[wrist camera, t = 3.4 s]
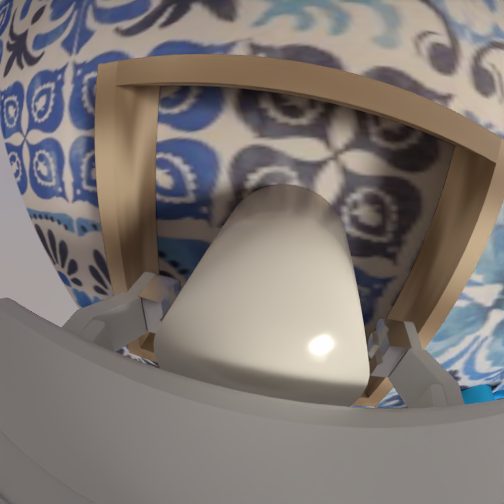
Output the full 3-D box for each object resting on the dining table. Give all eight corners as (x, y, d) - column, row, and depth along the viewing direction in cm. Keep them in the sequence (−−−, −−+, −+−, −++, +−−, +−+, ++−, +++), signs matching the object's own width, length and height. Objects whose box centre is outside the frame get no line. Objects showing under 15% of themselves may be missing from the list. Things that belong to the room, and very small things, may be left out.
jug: (232, 173, 12) (139, 269, 6) (360, 200, 12) (411, 326, 5) (219, 313, 17) (173, 426, 10) (313, 333, 16) (304, 454, 10)
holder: (144, 67, 10) (98, 64, 7) (474, 134, 9) (517, 148, 6) (152, 317, 19) (129, 352, 16) (371, 365, 17) (375, 406, 14)
